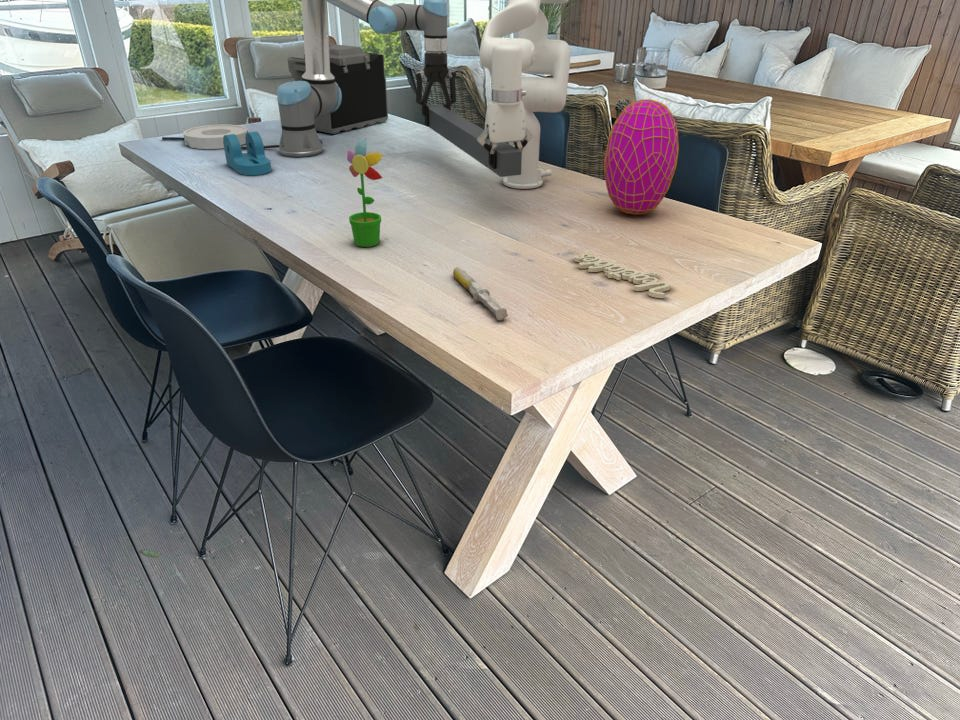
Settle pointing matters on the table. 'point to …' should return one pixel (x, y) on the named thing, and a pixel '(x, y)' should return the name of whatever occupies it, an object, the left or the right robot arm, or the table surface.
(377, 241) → the potted flower
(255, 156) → the camera mount
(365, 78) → the electronic device
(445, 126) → the post
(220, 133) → the ashtray
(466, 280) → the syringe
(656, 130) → the decorative egg
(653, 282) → the decorative sign
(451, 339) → the table surface
